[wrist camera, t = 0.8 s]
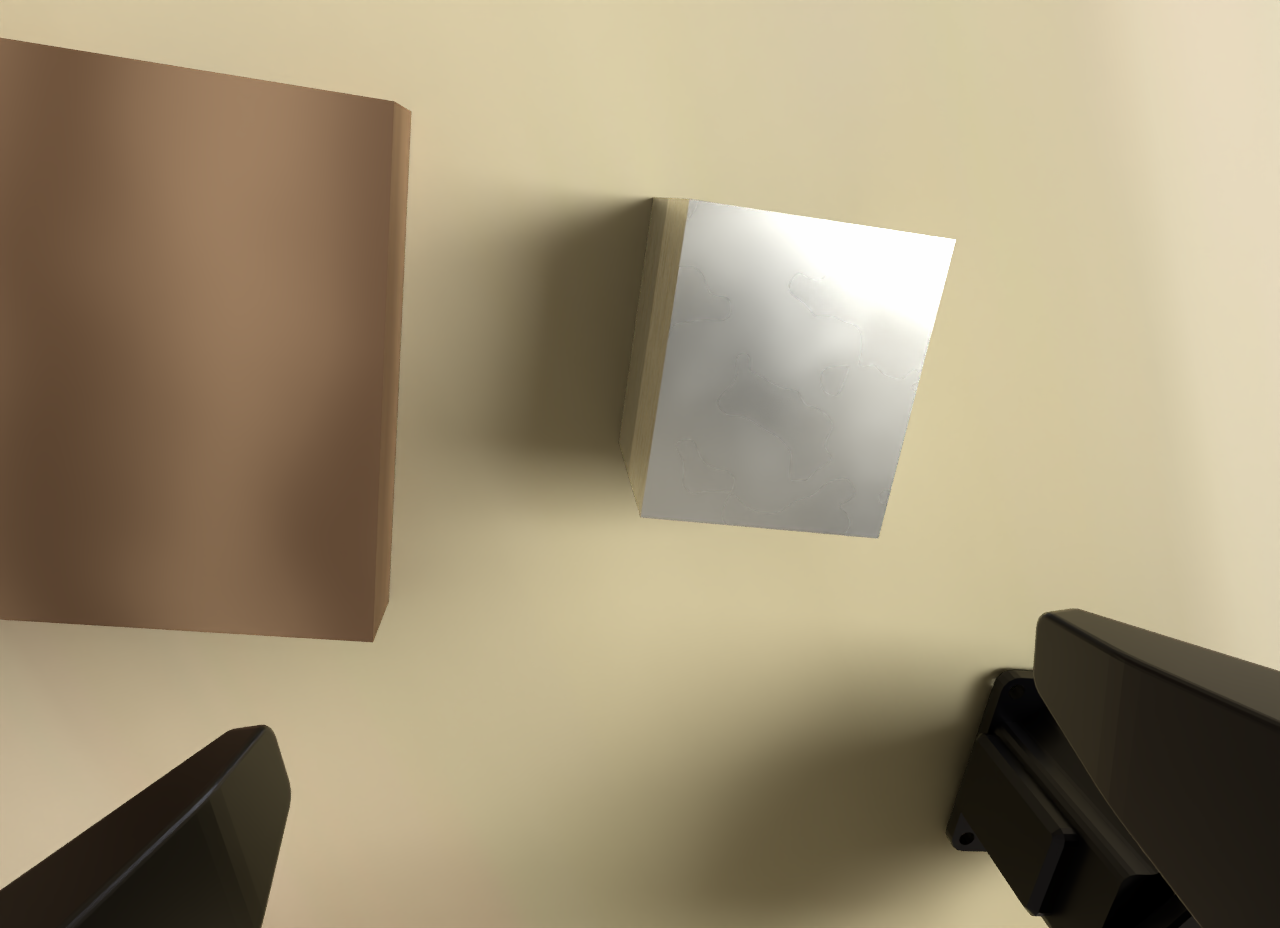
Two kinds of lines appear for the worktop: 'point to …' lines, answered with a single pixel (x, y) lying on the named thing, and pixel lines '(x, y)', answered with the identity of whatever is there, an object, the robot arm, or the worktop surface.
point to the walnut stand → (197, 347)
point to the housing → (775, 366)
